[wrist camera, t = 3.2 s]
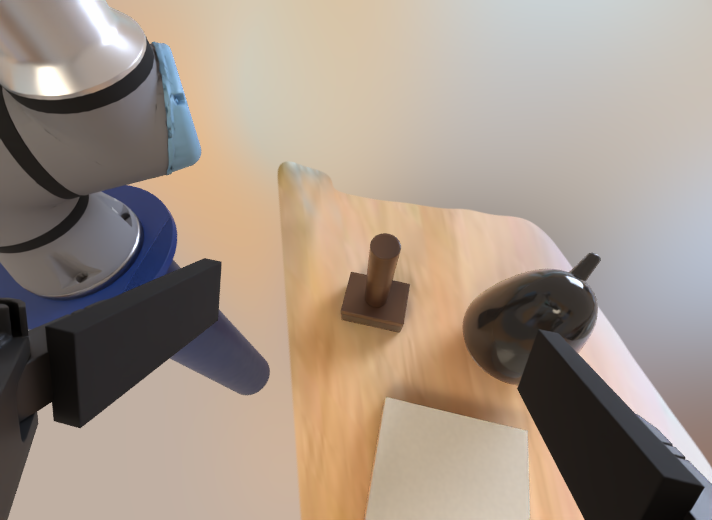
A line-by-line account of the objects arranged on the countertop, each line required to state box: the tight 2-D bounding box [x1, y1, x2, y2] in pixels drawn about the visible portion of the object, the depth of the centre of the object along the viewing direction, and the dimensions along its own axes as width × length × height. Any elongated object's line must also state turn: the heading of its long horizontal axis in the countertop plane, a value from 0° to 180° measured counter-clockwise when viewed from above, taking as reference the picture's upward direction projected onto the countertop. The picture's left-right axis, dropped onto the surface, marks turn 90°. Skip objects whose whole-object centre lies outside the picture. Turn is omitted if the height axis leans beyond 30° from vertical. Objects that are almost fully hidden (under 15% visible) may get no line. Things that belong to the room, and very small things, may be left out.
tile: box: [364, 397, 530, 520], centre depth 31 cm, size 14×12×2 cm
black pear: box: [463, 253, 601, 385], centre depth 32 cm, size 10×10×15 cm
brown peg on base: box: [341, 234, 410, 332], centre depth 35 cm, size 7×5×14 cm
